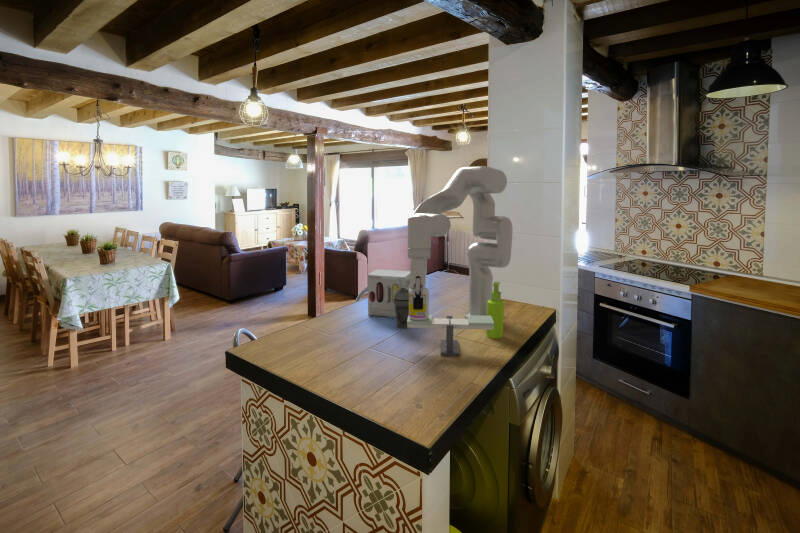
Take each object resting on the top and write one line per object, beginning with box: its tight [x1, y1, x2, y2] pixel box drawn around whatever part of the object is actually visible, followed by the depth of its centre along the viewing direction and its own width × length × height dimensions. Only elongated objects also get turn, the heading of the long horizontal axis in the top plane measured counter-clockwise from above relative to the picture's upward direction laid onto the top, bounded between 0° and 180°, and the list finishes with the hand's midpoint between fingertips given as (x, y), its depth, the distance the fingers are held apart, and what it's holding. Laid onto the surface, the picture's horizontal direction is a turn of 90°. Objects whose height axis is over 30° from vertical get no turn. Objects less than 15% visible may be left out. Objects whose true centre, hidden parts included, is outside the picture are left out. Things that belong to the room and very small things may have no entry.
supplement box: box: [367, 268, 410, 318], centre depth 179 cm, size 17×13×18 cm
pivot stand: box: [439, 315, 460, 357], centre depth 138 cm, size 6×12×10 cm, turn 175°
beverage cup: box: [394, 277, 409, 330], centre depth 160 cm, size 7×7×20 cm
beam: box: [406, 314, 494, 330], centre depth 137 cm, size 28×8×3 cm, turn 85°
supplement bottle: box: [409, 282, 430, 320], centre depth 137 cm, size 7×7×13 cm
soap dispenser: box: [485, 281, 505, 340], centre depth 150 cm, size 6×7×20 cm
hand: (418, 305), depth 137 cm, fingers closed on supplement bottle, 6 cm apart
